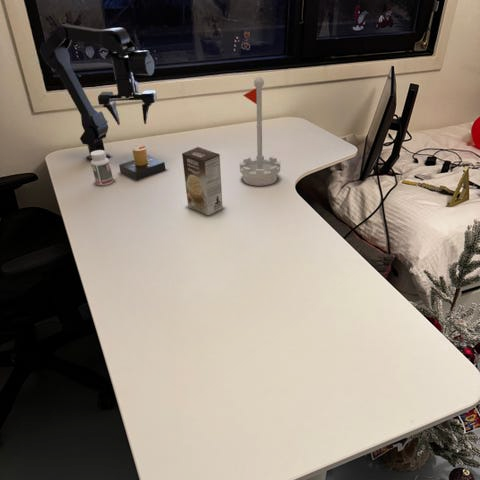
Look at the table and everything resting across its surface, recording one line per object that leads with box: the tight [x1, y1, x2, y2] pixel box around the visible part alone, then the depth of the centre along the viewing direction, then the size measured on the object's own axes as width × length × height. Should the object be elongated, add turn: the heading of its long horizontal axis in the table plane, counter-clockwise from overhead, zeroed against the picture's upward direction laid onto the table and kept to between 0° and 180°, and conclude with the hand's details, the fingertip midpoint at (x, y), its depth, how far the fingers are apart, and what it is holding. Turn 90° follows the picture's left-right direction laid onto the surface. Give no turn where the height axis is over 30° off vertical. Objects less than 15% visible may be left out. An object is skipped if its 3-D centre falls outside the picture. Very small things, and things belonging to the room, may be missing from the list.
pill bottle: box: [90, 150, 114, 186], centre depth 151 cm, size 6×6×10 cm
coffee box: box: [181, 146, 224, 216], centre depth 130 cm, size 9×6×16 cm
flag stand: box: [239, 76, 281, 187], centre depth 141 cm, size 13×13×30 cm
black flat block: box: [118, 155, 166, 181], centre depth 159 cm, size 10×12×3 cm
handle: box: [132, 145, 148, 166], centre depth 156 cm, size 4×4×5 cm
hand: (132, 124), depth 160 cm, fingers open, 9 cm apart
